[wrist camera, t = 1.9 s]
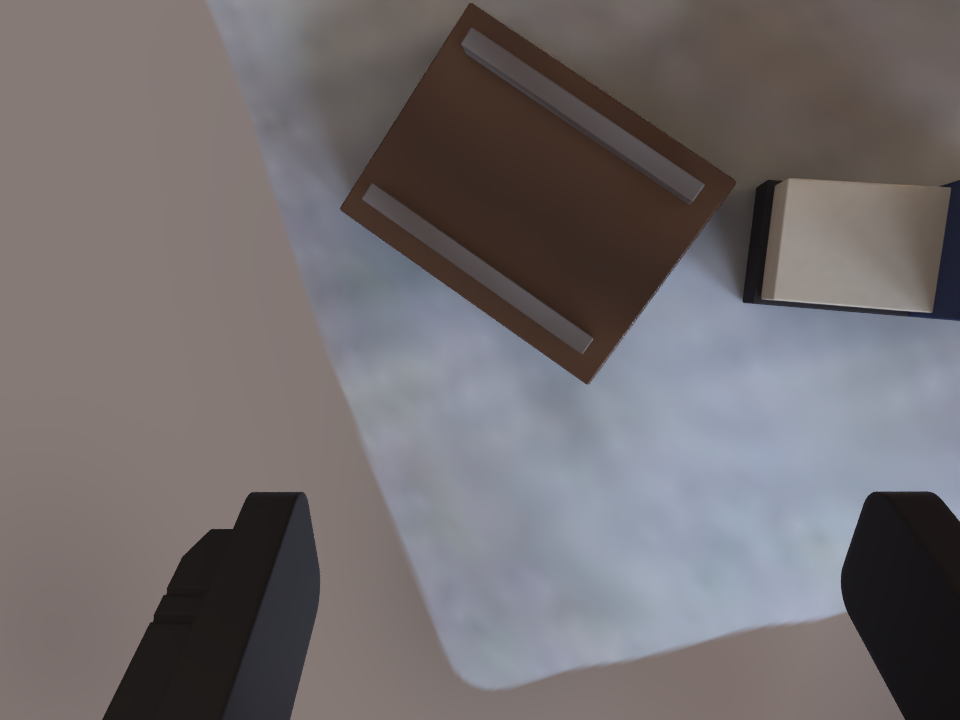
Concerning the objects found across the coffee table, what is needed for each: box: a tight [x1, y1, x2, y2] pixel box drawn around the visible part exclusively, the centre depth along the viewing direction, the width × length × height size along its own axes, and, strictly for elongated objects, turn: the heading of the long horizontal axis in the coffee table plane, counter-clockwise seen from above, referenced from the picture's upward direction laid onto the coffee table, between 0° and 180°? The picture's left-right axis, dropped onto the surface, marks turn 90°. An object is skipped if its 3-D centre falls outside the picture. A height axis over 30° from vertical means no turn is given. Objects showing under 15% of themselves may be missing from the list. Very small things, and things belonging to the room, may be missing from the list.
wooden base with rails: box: [340, 3, 736, 384], centre depth 31 cm, size 10×13×4 cm
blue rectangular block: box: [743, 178, 960, 321], centre depth 25 cm, size 11×5×11 cm, turn 86°
